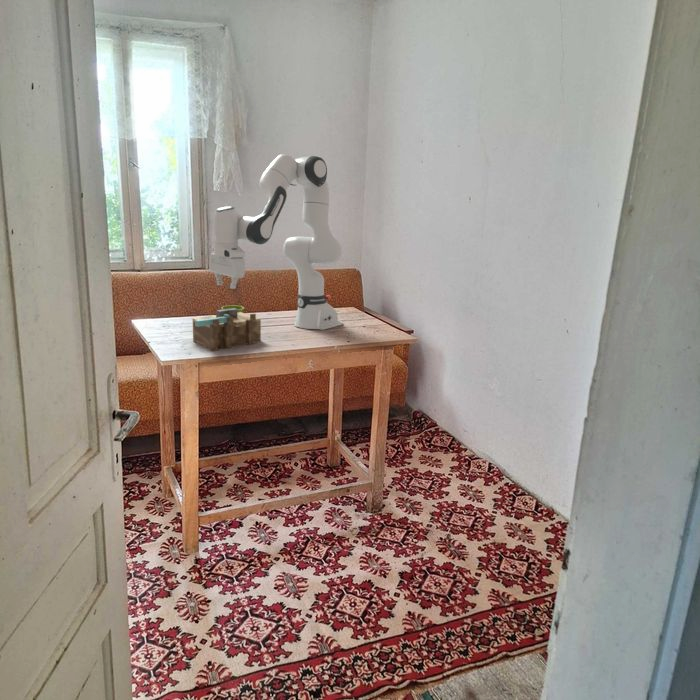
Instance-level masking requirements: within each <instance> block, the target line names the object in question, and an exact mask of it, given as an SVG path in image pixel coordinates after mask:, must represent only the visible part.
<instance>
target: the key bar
mask: <svg viewBox="0 0 700 700" xmlns="http://www.w3.org/2000/svg"><path fill="white" fill-rule="evenodd" d="M227 317H230V315H228V314H224V317H217V318H209V319H202V320H195V326H197V327H199V326H207V325H213V319H219V324H221V323H228V322H227Z"/></svg>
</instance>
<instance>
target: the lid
mask: <svg viewBox="0 0 700 700" xmlns="http://www.w3.org/2000/svg"><path fill="white" fill-rule="evenodd" d="M224 314H228V315H230V317H233V323H232V324H231V325H233V326H236V327H239V326H245V325H246V319H250V314H248V313H244V312H239V313H237V309H235V308H231V309H216V310H215V315H210V316H208V315H207V316H202V317H194V318H192V322H193V321H194V322H195V320H202V319H209V318H217V317H224ZM261 320H262V319H261V318H260V317H257V316H256V320H254V322H258V321H261ZM261 322H262V321H261ZM207 327H209V328H210V325H207ZM217 327H224V323H221V324H219V325H218V326H217Z"/></svg>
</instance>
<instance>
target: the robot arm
mask: <svg viewBox="0 0 700 700" xmlns="http://www.w3.org/2000/svg"><path fill="white" fill-rule="evenodd" d="M327 167H328V166H327V163H326V161H325V160H324V159H323V158H322V157H321V156H320V157H319V156H315V155H311V156H301V157H298V158H293V157H292V156H291V155H289V154H286V153H282V154H279V155H278V156H277V157H276V158H274V159H273V160H272V162H271V163H270V164H269V165H268V166H267V168H266V169H265V170H264V171H263V173H262V174H261V176H260V178H259V181H258V183H259V184H258V185H259V190H260V192H261V193H262V194H263V196H264V197H265V198H266V199H268V201H267V203H266V205H265V206H264V208H263V211H262V213H261V214H258V215H257V216H249V215H245V214H243V213H241V212H240V211H238V210H237V208H236V207H235V206H231V205H230V206H229V205H228V206H221V207H218V208H216V209H215V212H214V215H213V216H214V217H213V233H214V240H213V248H212V250H211V251H210V252H211V253H210V255H209V258H208V259H209V261H208V270H209V272H210V273H214V276H215V280H216V285H217V286H223V285H224V282H223V281H224V280H223V279H222V276H225V277H226V276H227V277H229V278H230V279H231V282H230V283H229V288H230V289H232V290H234V289H236V288H237V284H238V281H239V279H243V278H244V276H245V273H246V262H245V261H246V260H245V257H246V251H245V250H243V249H242V248H241V247H240V246H239V242H238V241H242V242H246V243H247V242H248V243H253V244H257V245H264V244H266V243H268V242H269V240H270V239H271V237H272V235H273V231H274V227H275V224H276V222H277V220H278V218H279V216H280V213H281V212H282V209H283V208H284V205H285V203H286V200H287V190H288V188H289V187H290V186H293V187H295V186H296V187H297V186H302V187H303V190H304V194H303V200H302V201H303V203H302V214H301V215H302V216H301V221H302V223H303V224H304V225H303V226H305V227H307V228H308V229H310V230H311V231H312V232H313V236H304V235H303V236H302V235H300V236H299V235H297V236H290V237H287V239H285V241H284V242H283V245H282V247H283V248H282V252H283V255H284V257H285V258H286V259H287V260H288V261H289V262H290V263H291V264H292V265H293V267H294V268H295V271H296V274H297V278H298V281H297V282H298V293H297V301H296V302H297V311H296V318H295V322H294V324H293V325H294V327H297V328H300V329H306V330H307V329H308V330H320V331H321V330H327V329H331V328H334V327H335V328H336V327H340V326H343V325H344V322H343V321H341V320H340V319H339V316H338V311H337V309H336V308H334V307H333V306H332V305H330V304H329V303H328V302H327V300H328V301H330V300H331V299H332V296H331V295H330V294H326V295H325V293H324V292H325V291H324V290H325V278H324V276H323V274H322V273H321V272H319V271H317V270H316V269H315V268H314V266H313V264H322V265H323V264H324V265H325V264H328V265H329V264H333V263H334V264H336V263H338V261H339V260H340V258H341V257H342V252H343V249H342V248H343V247H342V245H341V243H340V242H339V240H337V239H336V237H334V236H333V234H332V232H331V230H330V226H329V207H330V192H329V190H330V189H329V188H330V187H329V184H328V182H327V181H326V180H327V178H328V177H327V175H328V168H327Z"/></svg>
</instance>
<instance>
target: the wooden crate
mask: <svg viewBox="0 0 700 700" xmlns="http://www.w3.org/2000/svg"><path fill="white" fill-rule="evenodd" d="M249 315H250V319H246V325H245V326H239V327H236V326H233V325H231V324H232V323H233V317H227V322H228V323H224V327H217V326H218V325H219V319H213V325H210V328H209V327H207V326H199V327H197V326H195V322H194V321H193V320H192V341H193V342H195V343H197V344H200V345H201V346H203V347H206V348H208V349H209V350H210V351H212V352H215V351H219V348H220V349H221V348H225V349H231V348H232V346H237V345H243V344H247V345H254V344H255V343H256V342H260V341H261V330H262V328H261V327H262V326H261V325H262V323H261V322H262V321H258V322H254V320H256V317H257V315H256V313H250V314H249ZM254 342H255V343H254Z"/></svg>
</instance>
